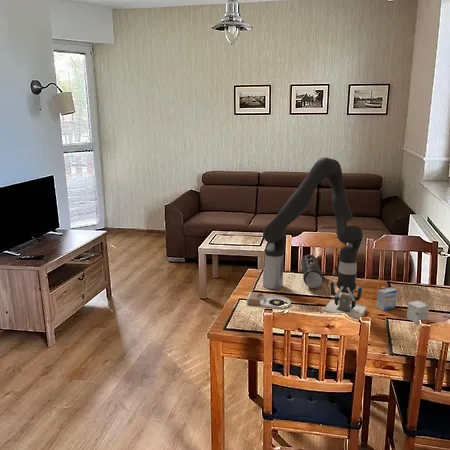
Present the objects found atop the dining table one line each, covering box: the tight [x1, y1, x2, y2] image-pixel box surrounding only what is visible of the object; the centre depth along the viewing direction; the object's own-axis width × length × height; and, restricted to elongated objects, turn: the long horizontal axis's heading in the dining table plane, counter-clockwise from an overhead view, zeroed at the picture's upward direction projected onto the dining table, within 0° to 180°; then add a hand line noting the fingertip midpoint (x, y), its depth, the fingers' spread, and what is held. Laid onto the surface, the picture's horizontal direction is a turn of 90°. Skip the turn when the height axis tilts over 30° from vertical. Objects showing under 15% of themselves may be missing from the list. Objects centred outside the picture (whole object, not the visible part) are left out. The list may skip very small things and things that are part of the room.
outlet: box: [321, 298, 368, 320], centre depth 200 cm, size 16×14×2 cm
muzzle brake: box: [300, 254, 324, 289], centre depth 237 cm, size 10×28×10 cm, turn 174°
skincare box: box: [406, 300, 430, 324], centre depth 193 cm, size 6×6×7 cm
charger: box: [339, 293, 352, 313], centre depth 199 cm, size 4×4×8 cm
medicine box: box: [376, 286, 398, 312], centre depth 204 cm, size 8×4×9 cm, turn 117°
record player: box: [246, 291, 292, 309], centre depth 211 cm, size 12×3×20 cm
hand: (344, 306), depth 199 cm, fingers open, 6 cm apart
